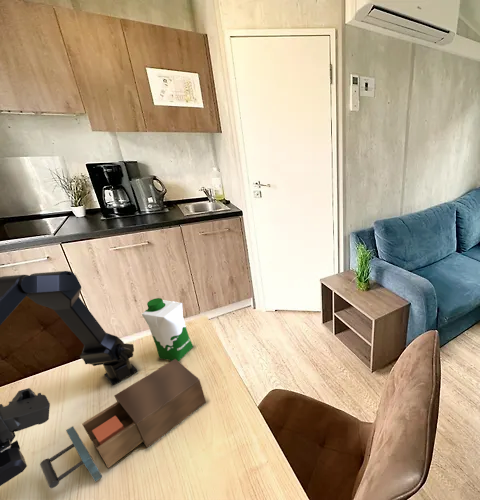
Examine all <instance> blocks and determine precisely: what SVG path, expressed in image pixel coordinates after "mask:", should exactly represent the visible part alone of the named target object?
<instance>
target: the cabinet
mask: <svg viewBox="0 0 480 500" xmlns="http://www.w3.org/2000/svg"><path fill="white" fill-rule="evenodd" d="M113 397H114V399H115V401H116V402H119V403H120V405H121V406H122V407H123V408H124V410H125V411H126V412H127V414H128V415H129V416H130V417H131V419H132V420H133V421H134V423H135V424H136V426H137V428H138V430H139V432H140V434H141V437H142V439H143V442H142V443H143V445H144V446H145V447H146V448H149V447H150V446H152V445H153V444H154V443H156V442H157V441H158V440H159V439H161V438H162V437H164V436H165V435H166V434H168V433H169V432H170V431H171V430H173V429H174V428H175V427H176V426H178V424H180V423H182V422H183V421H184V420H185V419H187V418H188V417H189V416H190V415H192V414H193V413H194V412H196V411H197V410H199V408H201V407H202V406H204V405H205V404H206V403H207V400H206V397H205V394H204V389H203V386H202V383H201V379H200V378H199V377H197V376H196V375H195V374H193V373H192V371H190V370H189V369H188V368H187V367H185V366H184V365H183V364H182V363H181V362H180V361H179V362H178V361H177V360H176V359H174V360H172V361H169V362H167V363H166V364H164V365H162V366H161V367H158V369H156V370H154V371H152V372H151V373H149V374H147V375H146V376H145V377H143V378H141V379H140V380H138V381H136V382H134V383H133V384H131V385H130V386H127V387H126V388H124V389H123V390H121V391H120V392H117V393H116V394H114V396H113Z"/></svg>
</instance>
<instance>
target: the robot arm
mask: <svg viewBox="0 0 480 500" xmlns="http://www.w3.org/2000/svg"><path fill="white" fill-rule="evenodd" d="M81 291H82V285H81V283H80V281H79V279H78V277H77V275H76V274H75V273H74V272H73V271H71V270H61V271H59V270H57V271H48V272H34V273H31V274H30V275H29V274H15V275H3V276H0V326H2V324H3V323H4V322H5V321H6V320H7V319H8V317H10V315H11V314H12V313H13V312H14V310H16V309H17V307H18V306H19V305H20V304H21V303H22V301H24V300H25V298H26V297H27V298H28V299H29V300H31V301H32V302H34V303H35V304H37V305H40V306H43V307H45V308H49V309H51V310H53V311H54V313H56V314H57V316H58V317H59V318H60V319H61V320H62V321H63V322H64V324H65V325H66V326H67V327H68V328H69V329H70V331H71V332H72V333H73V334H74V335H75V336H76V338H78V340H79V341H80V342H81V343H82V344H83V347H82V351H81V353H80V355H79V358H80V359H82V360H83V362H84V364H85V365H92V366H93V367H97V366H103V368H104V370H105V373H104V377H105V379H107V381H108V382H109V384H110V385H111V386H115V385H116V384H118V383H120V382H121V381H123V380H125V379H127V378H128V377H130V376H132V375H134V374H136V373H137V372H138V368H136V366H134V364H133V363H132V362H131V361H130V359H131V358H133V357H134V352H135V348H134V344H133V343H125V342H124V341H123V340H122V339H121V338H120V337H118V336H117V335H114V334H110V333H108V332H106V331H105V330H104V328H103V327H102V325H100V323H99V321H98V320H97V319H96V317H95V316H94V315H93V314H92V312H91V311H90V310H89V309H88V307H87V305H85V303H84V301H83V300H82V298H80V294H81ZM50 406H51V403H50V401H49V399H48V397H47V396H46V395H45V394H42V392H37V394H36V393H35V392H34V391H33V390H32V389H31V388H30V387H28V388H24V389H21V390H18V392H17V393H16V394H15V395H14V397H13V398H12V399H11V400H10V401H8V404H7V405H5V406H4V404H3V403H0V487H1V486H3V485H4V484H6V483H7V482H9V481H11V480H12V479H14V478H15V477H17V476H19V475H20V474H22V473H23V472H24V471H25V470H26V468H27V467H28V465H27V461H26V459H25V457H24V455H23V453H22V451H21V446H20V445H19V444H20V443H19V441H18V439H17V440H15V441H14V439H15V438H16V432H20V431H24V430H26V429H29V428H31V427H34V426H37V425H42V424H45V423H47V422H48V421H49V419H50V408H51V407H50Z"/></svg>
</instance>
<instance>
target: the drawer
mask: <svg viewBox="0 0 480 500" xmlns="http://www.w3.org/2000/svg"><path fill="white" fill-rule="evenodd" d="M115 415H116V417H117V418H118V419H119V421H120V422H121V423H122V425H123V426H124V428H125V429H123V430H122V431H120V432H119V433H117V434H116V435H115V436H113V437H112V438H110V439H109V440H107V441H106V442H104V443H103V444H102V445H100V444H99V443H98V441H97V439H96V437H95V436H94V434H93V432H92V430H94V429H95V428H97V427H98V426H100V425H101V424H103V423H104V422H106V421H107V420H109V419H111V418H112V417H114V416H115ZM81 424H82V427H83V429H84V430H85V433H87V435H88V437H89V439H90V441H91V442H92V444H93V446H94V448H95V449H96V450H97V452H98V454H99V456H100V457H101V459H102V461H103V462H104V464H105V466H106V467H107V468H108V469H109V468H110V467H112V466H113V465H115V464H116V463H117V462H118V461H120V460H121V459H122V458H123V457H125V456H126V455H127V454H129V453H130V452H132V451H133V450H134V449H135V448H137V447H138V446H140V444H142V443H143V439H142V437H141V434H140V432H139V430H138V428H137V426H136V424H135V423H134V421H133V420H132V419H131V417H130V416H129V415H128V414H127V412H126V411H125V410H124V408H123V407H122V406H121V405H120V403H119V402H117V401H116V402H114V403H113V404H112V405H109V406H108V407H107V408H105V409H103V410H102V411H100V412H98V413H97V414H95V415H93V416H92V417H90V418H89V419H87V420H86V421H83V423H81ZM65 432H66V433H67V435H68V437H69V439H70V441H71V444H70V445H69V446H67V447H65V448H64V449H62V450H60V451H59V452H57V453H56V454H55V455H53V456H51V457H50V458H45V459H43V460H41V461H40V463H39V466H40V468H41V471H42V473H43V476H44V478H45V481H46V484H47V485H48V488H49V489H53V488H56V487H57V486H58V485H59V484H60V481H62V480H64V479H65V478H66V477H67V476H69V475H70V474H71V473H73V472H74V471H76V470H77V469H79V468H80V467H82V466H83V465H84V467H85V468H86V469H87V471H88V473H89V474H90V476H91V477H92V479H93V481H94V482H95V483H96V482H98V481H99V480H100V479H101V478H103V475H102V474H101V472H100V470H99V468H98V466H97V464H96V463H95V461H94V460H93V458H92V455H91V454H90V452H89V451H88V449H87V447H86V445H85V443H84V442H83V440H82V438H81V436H80V435H79V433H78V432H77V430H76V428H75V427H74V426H73V425H72V426H70V427H68V428H67V429H65ZM74 448H75V451H76V453H78V456H79V458H80V460H81V461H79V462H78V463H76V464H75V465H73V466H72V467H71V468H69V469H68V470H66V471H65V472H63V473H62V474H60V475H59V476H58V475H57V473H56V471H55V468H54V466H53V463H52V462H54V461H55V460H57V459H59V458H60V457H61V456H63V455H65V454H66V453H68V452H69V451H70V450H72V449H74Z"/></svg>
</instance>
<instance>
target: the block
mask: <svg viewBox="0 0 480 500" xmlns="http://www.w3.org/2000/svg"><path fill="white" fill-rule="evenodd" d="M123 429H125V428H124V426H123V425H122V423H121V422H120V421H119V419H118V418H117V417H116V415H115V416H114V417H112V418H111V419H109V420H107V421H106V422H104V423H103V424H101V425H100V426H98V427H97V428H95V429H94V430H92V432H93V434H94V436H95V437H96V439H97V441H98V443H99V444H100V445H102V444H103V443H104V442H106V441H107V440H109V439H110V438H112V437H113V436H115V435H116V434H117V433H119V432H120V431H122V430H123Z"/></svg>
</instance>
